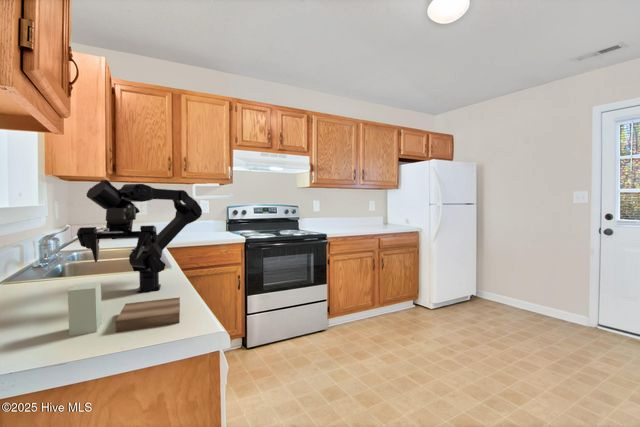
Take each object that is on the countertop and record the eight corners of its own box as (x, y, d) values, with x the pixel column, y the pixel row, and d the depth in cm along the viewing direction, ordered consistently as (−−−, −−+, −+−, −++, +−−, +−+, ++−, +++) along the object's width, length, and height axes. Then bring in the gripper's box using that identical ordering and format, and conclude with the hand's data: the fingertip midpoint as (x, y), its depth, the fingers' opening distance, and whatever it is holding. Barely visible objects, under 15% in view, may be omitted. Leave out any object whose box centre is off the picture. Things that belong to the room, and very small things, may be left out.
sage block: (76, 327, 72) (75, 285, 72) (102, 323, 74) (100, 282, 74) (69, 335, 68) (67, 290, 67) (96, 331, 70) (95, 288, 69)
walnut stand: (125, 313, 81) (125, 303, 81) (179, 306, 87) (179, 297, 87) (116, 332, 69) (115, 321, 69) (179, 322, 75) (179, 312, 75)
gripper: (77, 198, 84) (65, 243, 74) (155, 198, 92) (152, 239, 82) (86, 224, 91) (76, 269, 82) (157, 223, 99) (155, 263, 89)
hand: (116, 259), depth 83 cm, fingers open, 9 cm apart
